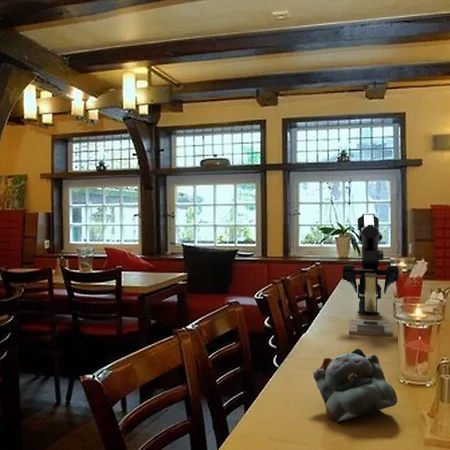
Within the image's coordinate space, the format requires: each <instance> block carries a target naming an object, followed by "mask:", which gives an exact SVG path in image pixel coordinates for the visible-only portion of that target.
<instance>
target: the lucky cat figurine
mask: <svg viewBox="0 0 450 450" xmlns="http://www.w3.org/2000/svg"><path fill="white" fill-rule="evenodd" d="M384 375H385V374H384V372H383V369H382V367H381V364H380V361H379V357H378V356H377V355H376V354H374V353H371V354H370V355H368V356H367V355H366V354H365V353H364V351H363V350H362V349H360V348H356V349H354V350H353V351H351V352H350V353H348V352H346V353H343V354H340V355H338V356H336V357H334V358H333V359H332V358H331V357H326V358H323V362H322V364H321V366H320V367H319V368H316V370H315V371H313V379H314V381H315V382H316V387H317V389H318V391H319V393H320V395H321V398H322V400H323V403H324V405H325V406H324V407H325V413H326V416H327V418H328V419H329V420H331V421H332V422H334V423H336V424H339V423H341V422H344V421H346V420H349V419H352V418H355V417H359V416H362V415H364V414H368V413H371V412H372V413H373V412H376V411H382V410H383V409H388V408H391V407H395V406H396V405H397V403H398V397H397V393H396V391H395V388H394V387H393V386H392V384H390V383H388V381H386V377H385V376H384Z"/></svg>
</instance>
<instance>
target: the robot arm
mask: <svg viewBox="0 0 450 450" xmlns="http://www.w3.org/2000/svg"><path fill="white" fill-rule="evenodd" d="M379 220H380V219H379V218H378V217H377V216H376V214H375V213H373V212H372V213H371V212H370V213H369V212H367V213H365V212H363V213H361V216H359V217H357V231H359V232H358V242H360V244H361V268H355V264H343V265H342V280H344V281H346V282H347V283H348V282H349V283H350V284H351V286H352V288H353V290H354V292H355V294H357V299H359V302H358V311H357V314H358V313H359V314H361V315H366V316H368V315H371V316H372V315H380V314H381V312H380V311H379V312H378V300H380V299H382V287H381V285H380V283H379V279H378V277H385V278H384V279H385V280H384V285H383V294H384V295H385V294H386V293H387V290H388V289H389V287H390V285H392V284H394V283H395V282H398V281H399V277H400V276H399V275H400V267H399V266H398V265H386V269H379V267H380V261H384V250H383V249H379V243H381V241H382V240H383V234H382V233H381V232H380V230H379V228H380V225H379ZM365 273H376V311H375V312H368V311H365ZM356 276H360V277H359V282H358V283H357V278H356Z"/></svg>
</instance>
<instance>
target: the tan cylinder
mask: <svg viewBox="0 0 450 450" xmlns="http://www.w3.org/2000/svg"><path fill="white" fill-rule="evenodd" d="M376 296H377V295H376V273H365V311H368V312H375V311H376Z"/></svg>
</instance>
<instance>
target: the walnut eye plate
mask: <svg viewBox="0 0 450 450" xmlns="http://www.w3.org/2000/svg"><path fill="white" fill-rule="evenodd" d="M348 334H349V335H361V336H362V335H363V336H378V337H379V336H380V337H381V336H384V337H394V332H393V328H392V323H391V321H390V320H376V319H375V320H373V319H350V320H349V327H348Z"/></svg>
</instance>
